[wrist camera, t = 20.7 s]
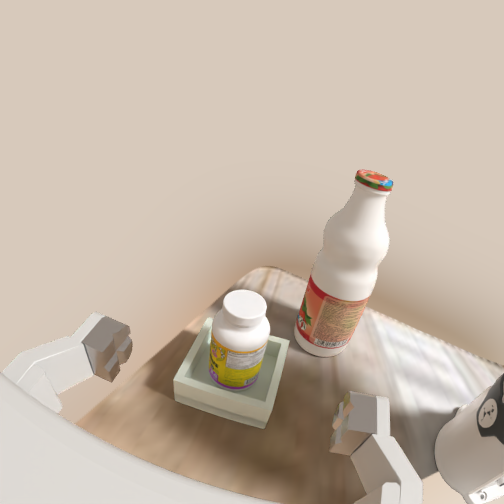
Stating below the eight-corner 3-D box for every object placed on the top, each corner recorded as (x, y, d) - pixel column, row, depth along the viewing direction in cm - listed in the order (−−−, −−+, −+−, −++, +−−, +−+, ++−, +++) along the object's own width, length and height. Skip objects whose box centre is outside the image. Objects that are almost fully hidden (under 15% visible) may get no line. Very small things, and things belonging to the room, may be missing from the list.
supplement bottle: (209, 352, 43) (216, 280, 36) (256, 356, 44) (273, 285, 37) (206, 391, 37) (211, 321, 31) (258, 395, 38) (278, 327, 31)
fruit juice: (328, 368, 46) (399, 196, 31) (281, 336, 51) (326, 166, 36) (355, 337, 52) (417, 185, 38) (312, 311, 57) (357, 160, 42)
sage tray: (282, 362, 46) (289, 340, 43) (264, 429, 36) (271, 410, 33) (206, 340, 48) (207, 317, 45) (174, 400, 37) (173, 379, 35)
